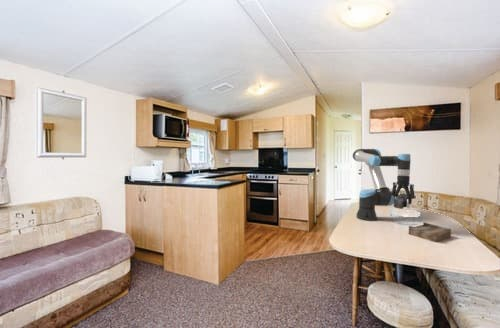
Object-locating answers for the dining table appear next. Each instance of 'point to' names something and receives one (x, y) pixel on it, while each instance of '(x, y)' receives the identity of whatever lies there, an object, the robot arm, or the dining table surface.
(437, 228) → the display plinth
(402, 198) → the camera
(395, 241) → the dining table surface
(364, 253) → the dining table surface
